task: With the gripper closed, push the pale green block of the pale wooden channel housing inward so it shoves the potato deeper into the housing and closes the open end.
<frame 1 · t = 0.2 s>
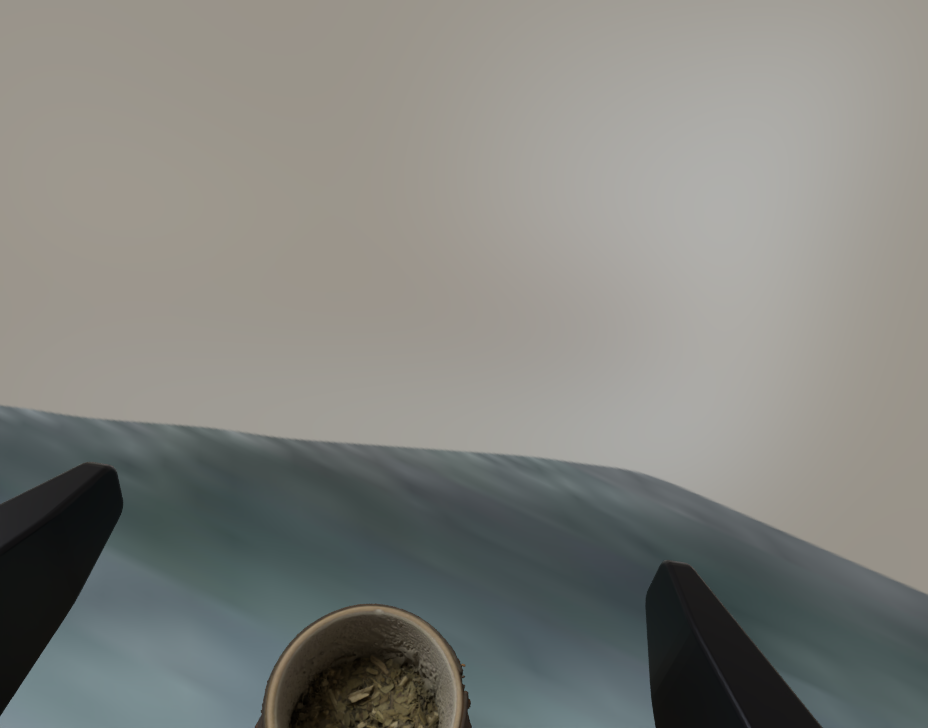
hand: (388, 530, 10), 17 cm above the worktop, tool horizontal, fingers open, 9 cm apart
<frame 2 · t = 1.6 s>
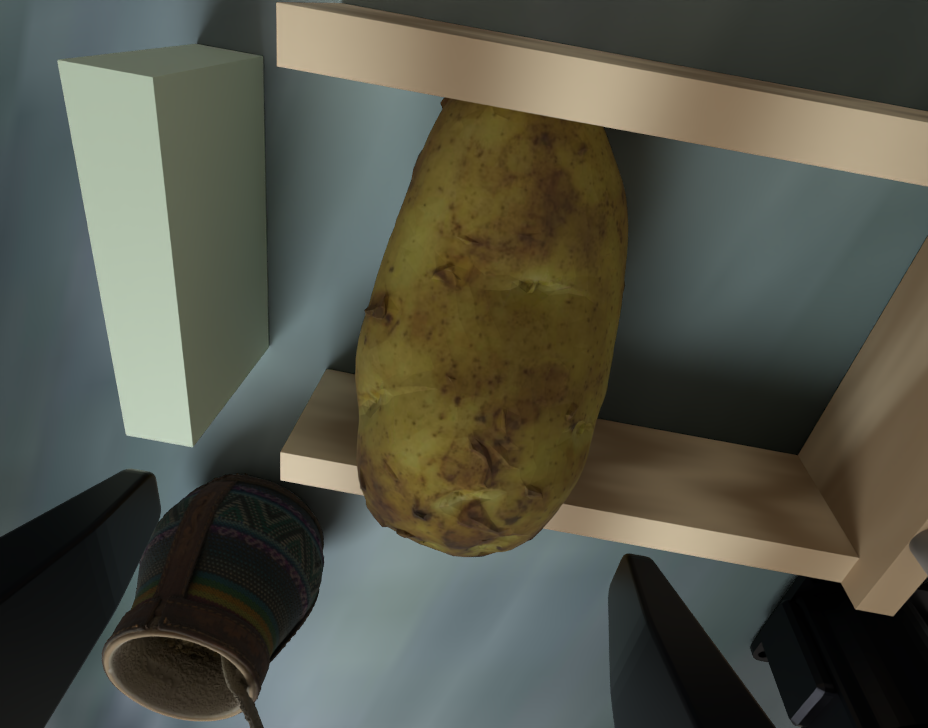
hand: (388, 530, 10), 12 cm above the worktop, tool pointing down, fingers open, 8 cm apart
mate gourd: (268, 509, 28), on the worktop
housing: (609, 283, 20), on the worktop
potato: (504, 277, 20), touching housing
pale green block: (186, 244, 17), point 3 cm above the worktop, slide at 4.8 cm
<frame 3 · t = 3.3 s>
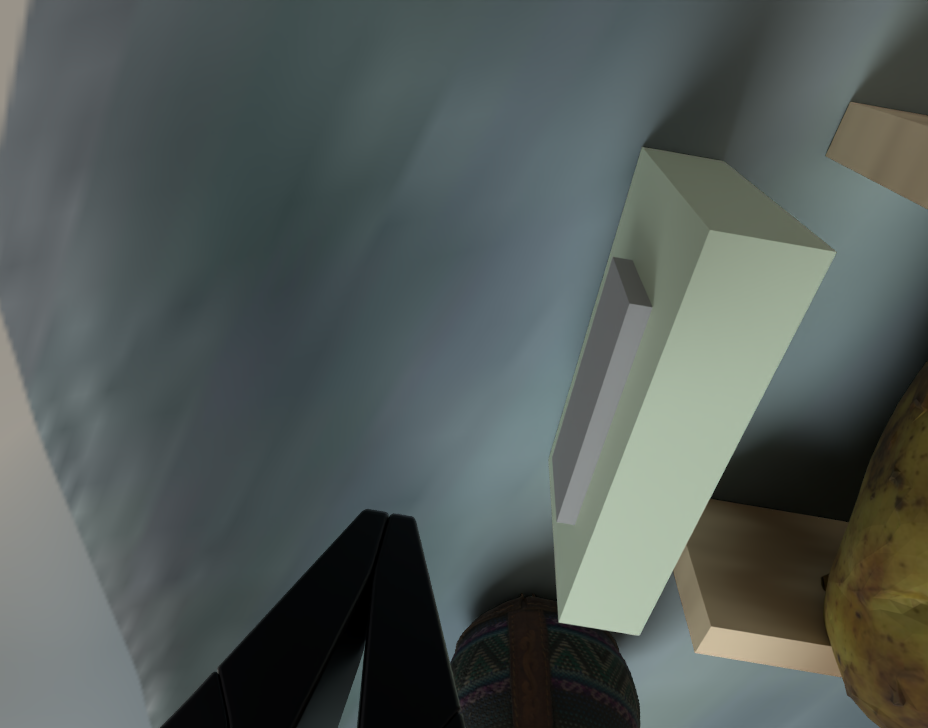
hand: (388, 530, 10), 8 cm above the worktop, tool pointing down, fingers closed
mate gourd: (541, 626, 25), on the worktop
pale green block: (631, 391, 14), point 3 cm above the worktop, slide at 4.8 cm
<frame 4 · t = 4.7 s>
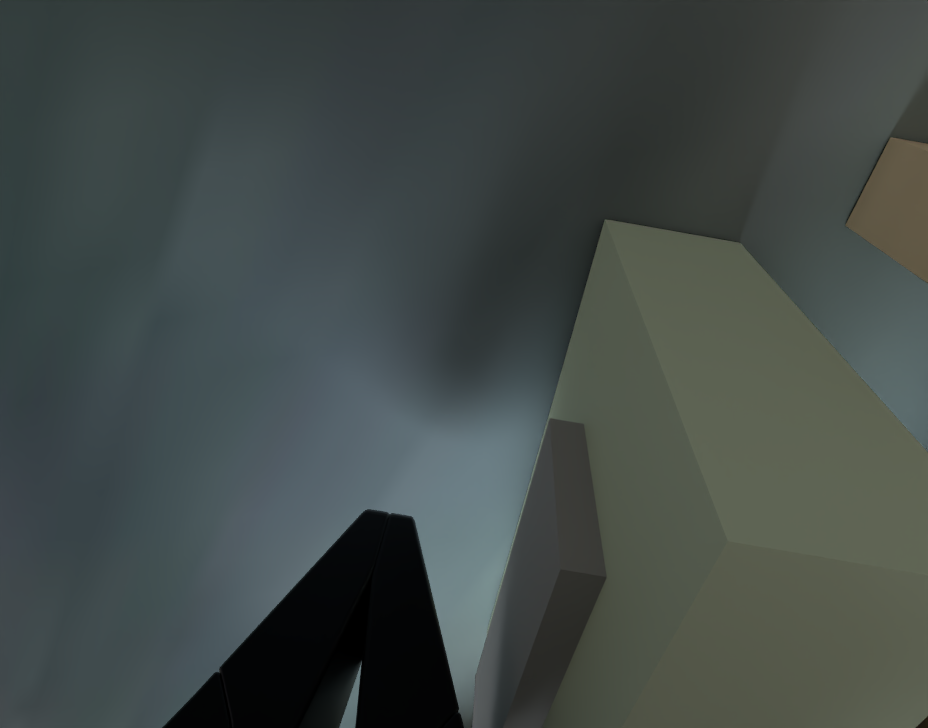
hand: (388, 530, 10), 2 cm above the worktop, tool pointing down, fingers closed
pale green block: (587, 621, 9), point 3 cm above the worktop, slide at 3.8 cm, touching gripper
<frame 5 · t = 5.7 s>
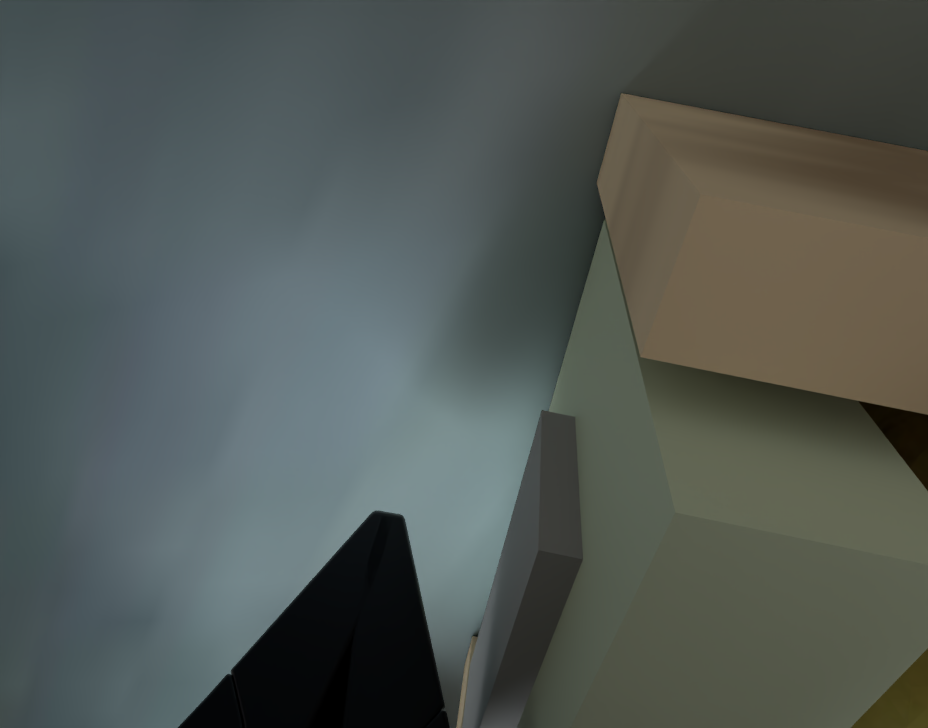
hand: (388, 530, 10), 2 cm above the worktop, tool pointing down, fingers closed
potato: (818, 546, 12), touching pale green block, housing
pale green block: (576, 612, 9), point 3 cm above the worktop, slide at 0.3 cm, touching gripper, potato
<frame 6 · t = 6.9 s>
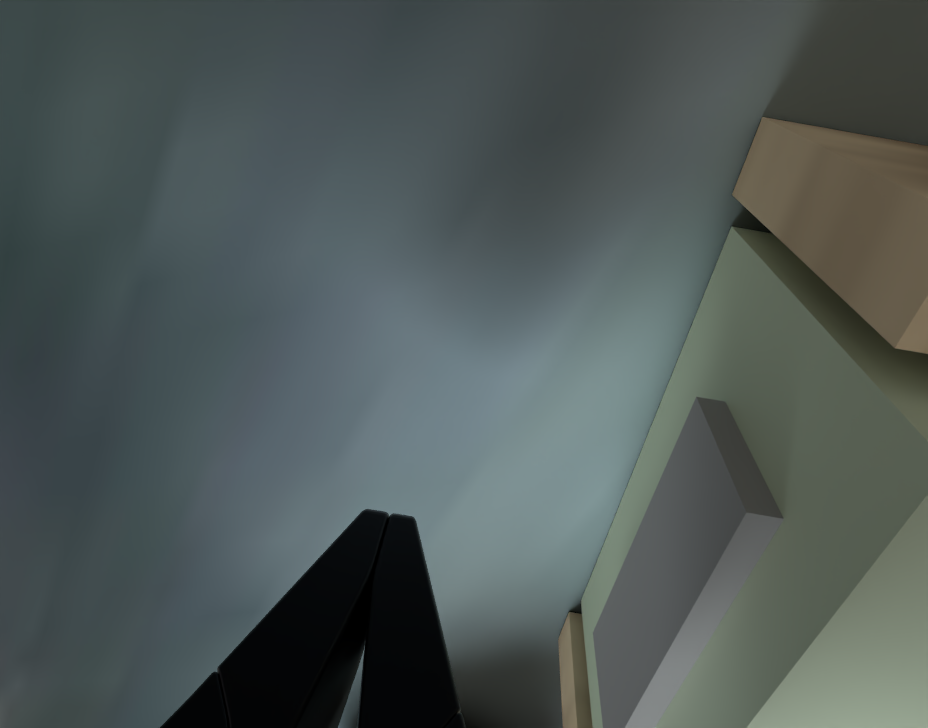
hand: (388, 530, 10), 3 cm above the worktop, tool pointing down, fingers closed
pale green block: (714, 576, 10), point 3 cm above the worktop, slide at 0.3 cm
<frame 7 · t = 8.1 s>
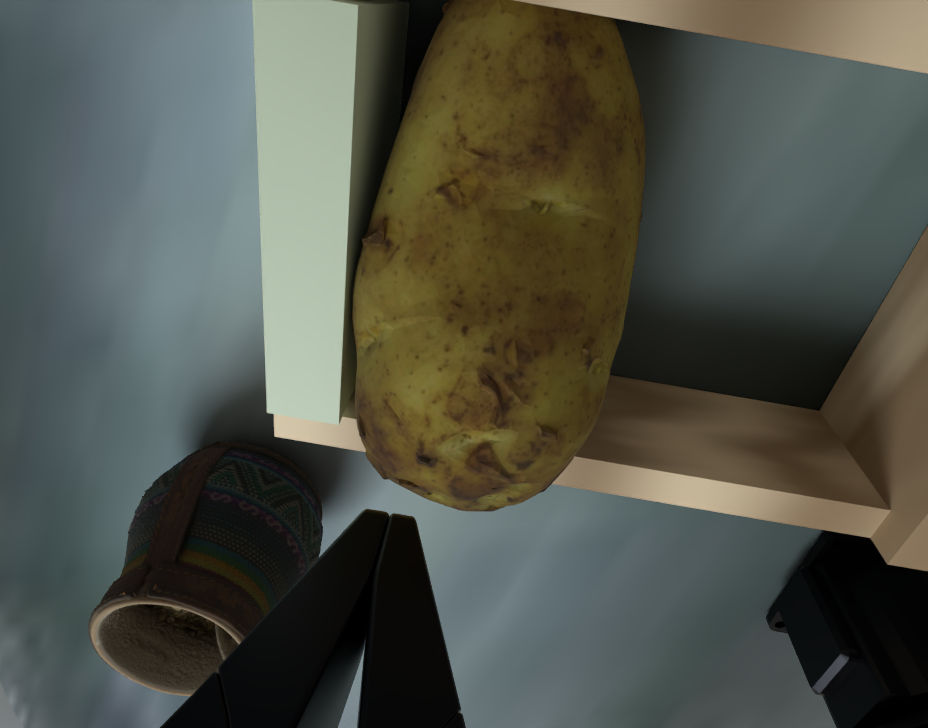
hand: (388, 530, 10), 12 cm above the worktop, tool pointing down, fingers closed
mate gourd: (264, 479, 26), on the worktop
housing: (621, 225, 19), on the worktop
potato: (510, 220, 19), touching housing
pale green block: (329, 207, 16), point 3 cm above the worktop, slide at 0.3 cm
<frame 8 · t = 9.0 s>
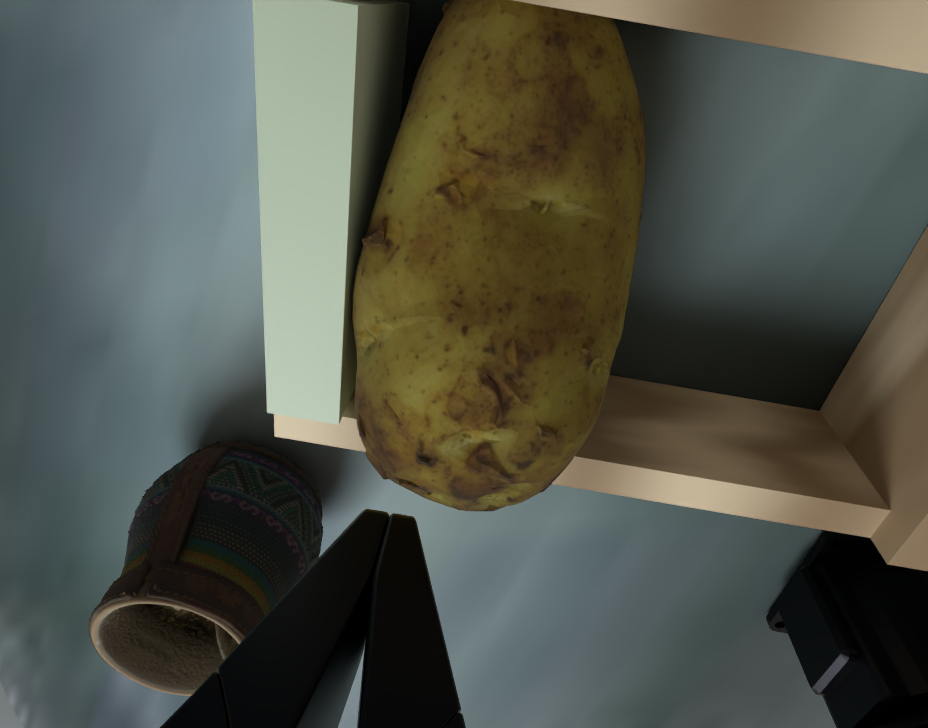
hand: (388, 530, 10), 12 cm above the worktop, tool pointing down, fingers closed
mate gourd: (264, 479, 26), on the worktop
housing: (621, 225, 19), on the worktop
potato: (510, 220, 19), touching housing
pale green block: (329, 207, 16), point 3 cm above the worktop, slide at 0.3 cm
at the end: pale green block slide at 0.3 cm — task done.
